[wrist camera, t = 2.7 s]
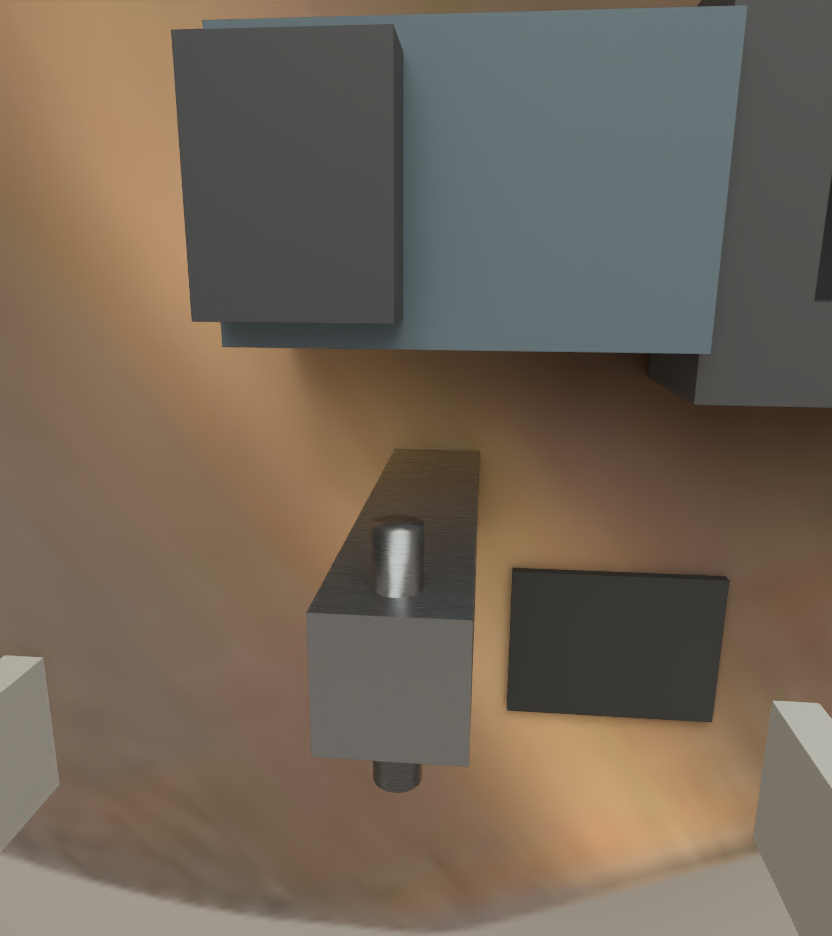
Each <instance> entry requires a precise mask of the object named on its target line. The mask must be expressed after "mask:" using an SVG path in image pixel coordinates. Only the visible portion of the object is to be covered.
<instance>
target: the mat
mask: <svg viewBox="0 0 832 936" xmlns="http://www.w3.org/2000/svg"><path fill="white" fill-rule="evenodd" d="M728 586H729V580H728V579H727V577H725V576H701V575H676V574H651V573H627V572H602V571H577V570H552V569H528V568H513V572H512V596H511V621H510V645H509V669H508V693H507V710H508V711H525V712H543V713H560V714H577V715H594V716H612V717H629V718H646V719H663V720H681V721H698V722H712V717H713V709H714V701H715V693H716V684H717V676H718V668H719V660H720V652H721V644H722V635H723V627H724V619H725V611H726V603H727V594H728Z"/></svg>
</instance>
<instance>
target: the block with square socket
mask: <svg viewBox="0 0 832 936" xmlns="http://www.w3.org/2000/svg"><path fill="white" fill-rule="evenodd" d="M202 23H203V29H180V30H171V35H172V49H173V63H174V77H175V91H176V105H177V119H178V133H179V148H180V162H181V176H182V190H183V204H184V218H185V232H186V246H187V260H188V274H189V288H190V302H191V316H192V321H194V322H221V333H222V347H257V348H328V349H398V350H469V351H540V352H610V353H650V359H649V370H648V377H649V378H651V379H652V380H654V381H656V382H657V383H659V384H661V385H662V386H664V387H666V388H667V389H669V390H671V391H672V392H674V393H675V394H677V395H679V396H680V397H682V398H684V399H685V400H687V401H689V402H690V403H692V404H694V405H727V406H777V407H826V408H832V0H701V2H700V3H699V4H698V6H697V7H668V8H631V9H594V10H557V11H520V12H483V13H446V14H410V15H373V16H336V17H299V18H262V19H225V20H202Z"/></svg>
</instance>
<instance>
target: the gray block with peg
mask: <svg viewBox="0 0 832 936" xmlns="http://www.w3.org/2000/svg"><path fill="white" fill-rule="evenodd" d="M479 459H480V451H445V450H407V449H395V450H394V451H393V453H392V455H391V457H390V459H389V461H388V463H387V464H386V466H385V468H384V470H383V472H382V474H381V476H380V477H379V479H378V481H377V483H376V485H375V487H374V489H373V490H372V492H371V494H370V496H369V498H368V500H367V502H366V503H365V505H364V507H363V509H362V511H361V513H360V514H359V516H358V518H357V520H356V522H355V524H354V526H353V527H352V529H351V531H350V533H349V535H348V537H347V539H346V540H345V542H344V544H343V546H342V548H341V550H340V552H339V553H338V555H337V557H336V559H335V561H334V563H333V565H332V566H331V568H330V570H329V572H328V574H327V576H326V577H325V579H324V581H323V583H322V585H321V587H320V589H319V590H318V592H317V594H316V596H315V598H314V600H313V602H312V603H311V605H310V607H309V609H308V611H307V641H308V669H309V697H310V726H311V754H312V757H323V758H339V759H354V760H369V761H373V779H374V782H375V783H376V785H377V786H378V787H380V788H381V789H383V790H385V791H388V792H394V793H400V792H406V791H409V790H412V789H414V788H415V787H417V786H418V785H419V783H420V782H421V780H422V764H431V765H446V766H462V767H469V750H470V723H471V695H472V668H473V640H474V613H475V586H476V558H477V530H478V494H479Z"/></svg>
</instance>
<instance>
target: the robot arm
mask: <svg viewBox="0 0 832 936" xmlns="http://www.w3.org/2000/svg"><path fill="white" fill-rule="evenodd" d="M59 785H60V784H59V776H58V768H57V761H56V753H55V745H54V737H53V730H52V722H51V714H50V706H49V699H48V691H47V683H46V675H45V667H44V660H43V658H41V657H24V656H7V655H5V656H3V657H2V658H1V659H0V853H1V852H2V850H3V849H4V848H5V847H6V846H7V845H8V844H9V842H10V841H11V840H12V839H13V838H14V837H15V836H16V834H17V833H18V832H19V831H20V830H21V829H22V827H23V826H24V825H25V824H26V823H27V822H28V821H29V819H30V818H31V817H32V816H33V815H34V814H35V813H36V811H37V810H38V809H39V808H40V807H41V806H42V805H43V803H44V802H45V801H46V800H47V799H48V798H49V796H50V795H51V794H52V793H53V792H54V791H55V790H56V788H57V787H58V786H59ZM753 839H754V841H755V843H756V845H757V847H758V849H759V852H760V854H761V856H762V858H763V860H764V862H765V864H766V866H767V868H768V870H769V873H770V875H771V877H772V879H773V881H774V883H775V885H776V887H777V889H778V891H779V894H780V896H781V898H782V900H783V902H784V904H785V906H786V909H787V911H788V913H789V915H790V917H791V919H792V921H793V923H794V925H795V928H796V930H797V932H798V934H799V936H832V719H831V718H830V716H829V715H828V714H827V712H826V711H825V710H824V709H823V707H822V706H821V705H820V704H819V703H805V702H788V701H772V705H771V712H770V720H769V727H768V734H767V741H766V749H765V756H764V763H763V770H762V777H761V785H760V792H759V799H758V806H757V813H756V821H755V828H754V835H753Z"/></svg>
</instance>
